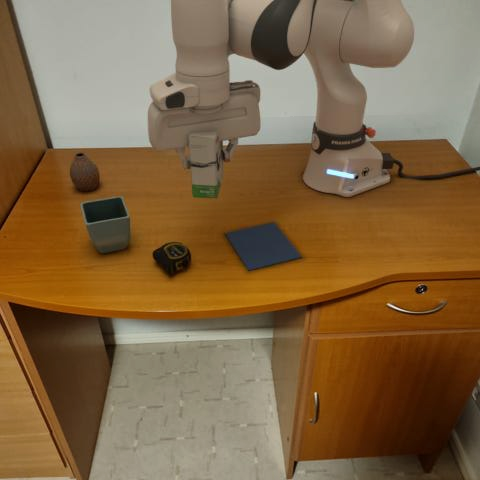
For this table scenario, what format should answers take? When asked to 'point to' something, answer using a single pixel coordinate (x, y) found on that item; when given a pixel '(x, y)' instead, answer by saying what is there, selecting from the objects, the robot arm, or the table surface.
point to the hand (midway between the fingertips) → (207, 164)
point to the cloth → (262, 246)
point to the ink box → (206, 163)
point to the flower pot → (107, 223)
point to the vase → (84, 172)
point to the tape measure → (172, 257)
